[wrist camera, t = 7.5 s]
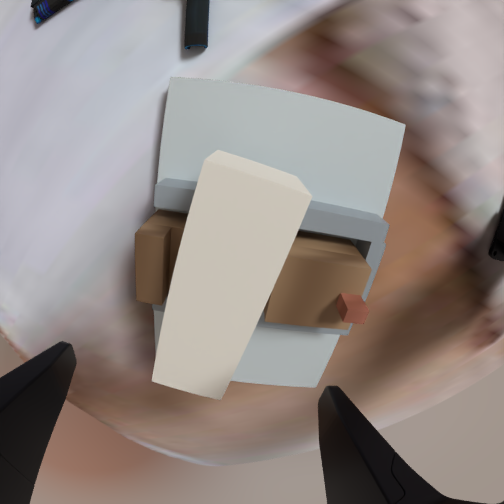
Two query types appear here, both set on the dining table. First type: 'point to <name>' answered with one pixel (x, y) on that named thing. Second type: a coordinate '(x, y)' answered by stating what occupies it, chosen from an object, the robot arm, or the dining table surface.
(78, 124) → the dining table surface
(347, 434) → the robot arm
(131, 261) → the dining table surface
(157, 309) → the jig board
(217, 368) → the long cream prism
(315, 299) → the brown box with tab
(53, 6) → the gun
